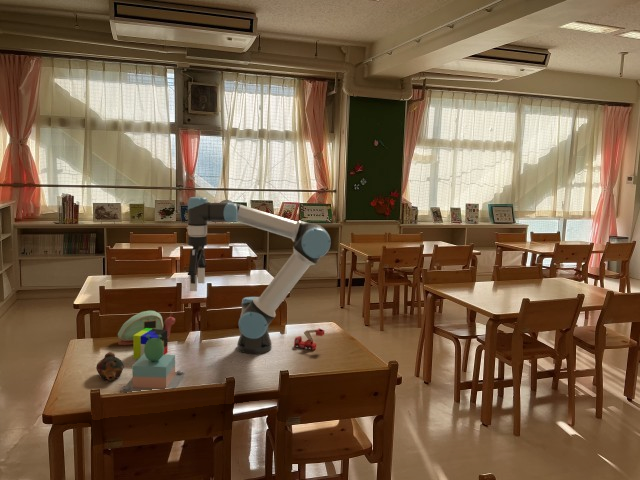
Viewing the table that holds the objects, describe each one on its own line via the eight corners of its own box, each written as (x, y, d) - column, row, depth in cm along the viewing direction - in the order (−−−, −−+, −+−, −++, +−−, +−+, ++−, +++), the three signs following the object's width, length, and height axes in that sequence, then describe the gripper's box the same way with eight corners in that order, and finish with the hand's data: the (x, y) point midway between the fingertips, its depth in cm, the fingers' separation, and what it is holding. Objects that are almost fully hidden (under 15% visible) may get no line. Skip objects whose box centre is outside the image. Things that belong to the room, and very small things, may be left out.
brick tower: (185, 374, 205) (185, 352, 204) (172, 394, 187) (172, 370, 186) (138, 372, 205) (138, 350, 204) (121, 392, 187) (120, 368, 186)
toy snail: (118, 347, 231) (118, 316, 229) (117, 341, 238) (116, 311, 236) (176, 340, 242) (176, 311, 240) (173, 335, 249) (173, 306, 247)
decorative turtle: (120, 367, 209) (121, 348, 207) (126, 385, 196) (127, 364, 194) (93, 370, 204) (94, 350, 203) (97, 388, 191) (98, 367, 190)
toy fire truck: (296, 344, 242) (296, 324, 240) (324, 349, 237) (324, 329, 235) (293, 347, 239) (293, 326, 237) (321, 352, 234) (322, 331, 232)
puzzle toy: (155, 361, 217) (155, 337, 215) (133, 358, 219) (133, 335, 217) (167, 352, 227) (167, 330, 225) (146, 350, 229) (145, 328, 227)
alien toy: (164, 355, 199) (164, 330, 198) (164, 363, 192) (163, 337, 190) (145, 356, 198) (144, 331, 196) (143, 364, 190) (143, 338, 189)
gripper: (195, 231, 225) (195, 279, 229) (180, 239, 201) (180, 294, 204) (213, 231, 225) (212, 280, 229) (199, 240, 201) (199, 294, 204)
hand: (197, 287), depth 216 cm, fingers open, 13 cm apart
